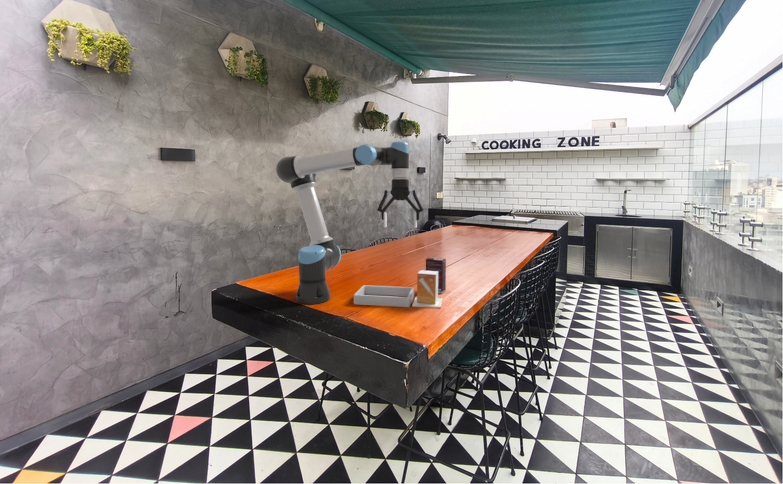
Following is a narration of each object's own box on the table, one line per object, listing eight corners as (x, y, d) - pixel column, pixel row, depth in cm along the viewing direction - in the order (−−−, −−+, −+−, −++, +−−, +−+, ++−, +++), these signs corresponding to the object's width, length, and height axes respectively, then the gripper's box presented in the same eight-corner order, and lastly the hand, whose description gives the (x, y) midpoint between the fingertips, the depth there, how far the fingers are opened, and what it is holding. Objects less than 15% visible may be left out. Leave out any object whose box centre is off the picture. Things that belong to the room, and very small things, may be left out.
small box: (416, 302, 163) (416, 273, 161) (420, 298, 170) (420, 269, 167) (435, 304, 161) (436, 274, 159) (438, 300, 167) (438, 270, 165)
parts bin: (353, 304, 164) (353, 295, 164) (363, 293, 180) (363, 285, 179) (409, 307, 160) (409, 297, 159) (414, 295, 175) (414, 287, 175)
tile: (412, 306, 161) (412, 305, 161) (415, 298, 172) (415, 296, 172) (440, 308, 158) (440, 306, 158) (442, 299, 170) (442, 298, 170)
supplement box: (445, 291, 183) (446, 258, 180) (442, 293, 178) (442, 260, 176) (429, 289, 187) (429, 257, 184) (425, 291, 182) (425, 258, 180)
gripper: (370, 179, 165) (370, 227, 168) (428, 178, 160) (427, 228, 164) (374, 179, 172) (374, 226, 176) (429, 178, 168) (429, 226, 171)
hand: (400, 227), depth 170 cm, fingers open, 13 cm apart
